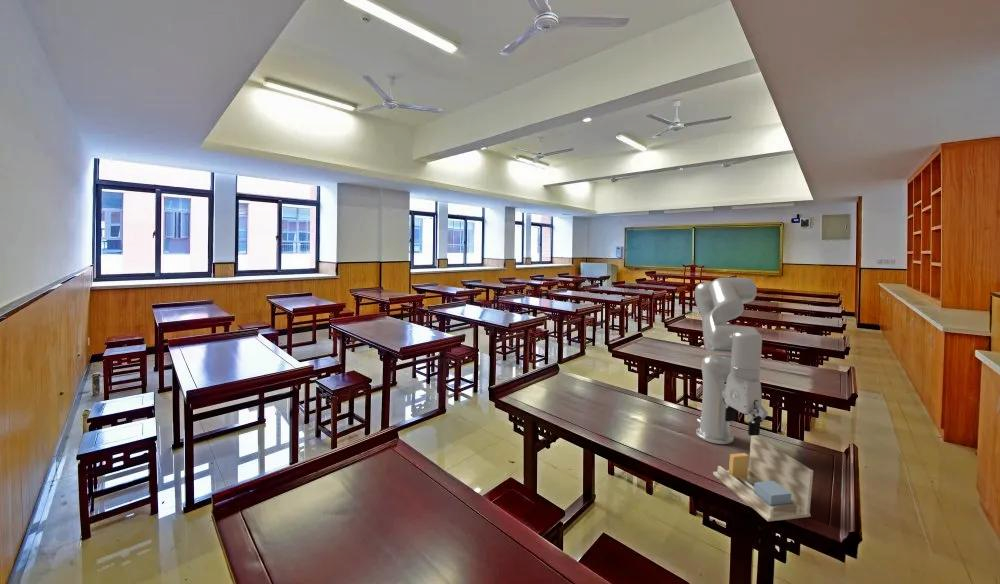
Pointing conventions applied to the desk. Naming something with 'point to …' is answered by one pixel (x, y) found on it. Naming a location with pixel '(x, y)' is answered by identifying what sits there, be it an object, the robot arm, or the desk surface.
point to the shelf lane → (773, 467)
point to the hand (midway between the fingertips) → (741, 427)
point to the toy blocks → (764, 490)
